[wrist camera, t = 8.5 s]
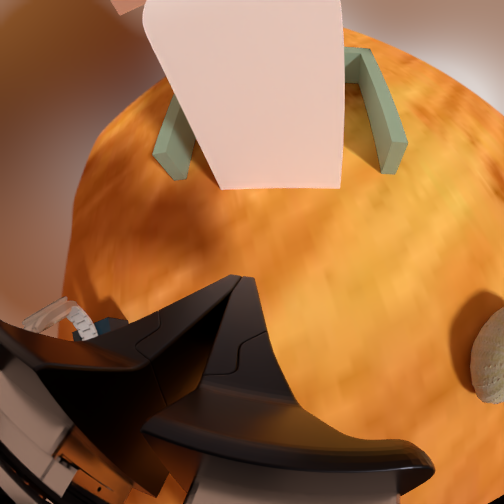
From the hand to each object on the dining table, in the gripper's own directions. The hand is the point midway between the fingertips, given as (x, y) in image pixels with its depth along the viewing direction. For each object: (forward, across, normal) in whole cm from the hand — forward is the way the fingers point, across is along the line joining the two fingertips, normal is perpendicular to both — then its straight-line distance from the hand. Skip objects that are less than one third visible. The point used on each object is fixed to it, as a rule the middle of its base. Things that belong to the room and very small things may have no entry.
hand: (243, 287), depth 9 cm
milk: (+22, +1, -4) cm, 22 cm away
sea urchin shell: (+7, -23, +10) cm, 26 cm away
